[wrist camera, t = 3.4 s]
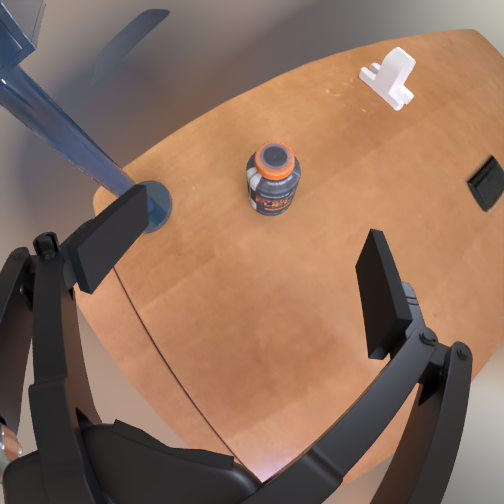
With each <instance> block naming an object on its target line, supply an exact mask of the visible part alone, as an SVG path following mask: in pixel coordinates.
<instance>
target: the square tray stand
mask: <svg viewBox="0 0 504 504" xmlns="http://www.w3.org/2000/svg"><path fill="white" fill-rule="evenodd" d="M45 6H46V4H45V3H44V1H43V0H0V105H1V106H2V107H3V108H4V109H5V110H6V111H8V112H9V113H10V114H11V115H12V116H14V117H15V118H16V119H17V120H18V121H20V122H21V123H22V124H23V125H25V126H26V127H27V128H28V129H29V130H31V131H32V132H33V133H34V134H36V135H37V136H38V137H39V138H41V139H42V140H43V141H44V142H46V143H47V144H48V145H49V146H51V147H52V148H53V149H55V150H56V151H57V152H58V153H60V154H61V155H62V156H63V157H65V158H66V159H67V160H69V161H70V162H71V163H73V164H74V165H75V166H76V167H78V168H79V169H80V170H81V171H83V172H84V173H86V174H87V175H88V176H89V177H91V178H92V179H93V180H95V181H96V182H97V183H99V184H100V185H101V186H103V187H104V188H105V189H107V190H108V191H109V192H111V193H112V194H113V195H115V196H116V197H117V198H119V197H120V196H121V195H123V194H124V193H125V192H126V191H128V190H129V189H130V188H131V187H133V186H134V185H135V184H137V183H135V182H134V181H133V180H132V179H131V178H130V177H129V176H128V175H127V174H126V173H125V172H124V171H123V170H122V169H121V168H120V167H119V166H118V165H117V164H116V163H115V162H114V161H113V160H112V159H111V158H110V157H109V156H108V155H107V154H105V152H104V151H103V150H101V148H100V147H98V145H97V144H95V142H94V141H92V140H91V139H90V137H89V136H88V135H87V134H86V133H84V132H83V130H82V129H81V128H80V127H79V126H77V124H76V123H75V122H74V121H73V120H72V119H71V118H70V117H69V116H68V115H67V114H66V113H65V112H64V111H63V110H62V109H61V108H60V107H59V106H58V105H57V104H56V103H55V102H54V101H53V100H52V99H51V98H50V97H49V95H48V94H47V93H46V92H45V91H44V90H43V89H42V88H41V87H40V86H39V85H38V84H37V83H36V82H35V81H34V80H33V79H32V77H31V76H30V75H29V74H28V73H27V72H26V71H25V70H24V69H23V68H22V67H21V66H20V64H19V63H20V62H21V61H22V60H23V59H25V58H26V57H27V56H28V55H29V54H31V53H32V52H33V51H34V50H36V48H37V43H38V37H39V32H40V27H41V22H42V18H43V14H44V10H45ZM139 185H146V187H147V204H148V218H149V226H148V227H147V228H146V229H145V230H144V231H143V232H142V233H150V232H153V231H156V230H157V229H159V228H160V227H161V226H163V225H164V224H165V222H166V221H167V220H168V218H169V216H170V213H171V210H172V199H171V195H170V193H169V192H168V190H167V189H166V188H165V187H164V186H163V185H162V184H161V183H159V182H156V181H144V182H141V183H139Z"/></svg>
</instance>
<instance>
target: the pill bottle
mask: <svg viewBox="0 0 504 504" xmlns="http://www.w3.org/2000/svg"><path fill="white" fill-rule="evenodd" d="M246 170H247V183H248V194H249V200H250V203H251V205H252V206H253V208H254V209H255V210H256V211H257V212H259V213H261V214H263V215H267V216H275V215H279V214H281V213H283V212H284V211H286V210H287V209H288V208H289V206H290V204H291V202H292V199H293V196H294V194H295V191H296V188H297V185H298V182H299V179H300V173H301V170H300V165H299V162H298V160H297V158H296V157H295V156H294V154H293V152H292V150H291V149H290V148H289V147H288V146H287V145H286V144H284V143H281V142H277V141H271V142H267V143H264V144H263V145H261V146H260V147H259V148H258V150H257V151H256V152H255V153H254V154H253V155H252V156H251V157H250V159H249V161H248V164H247V168H246Z"/></svg>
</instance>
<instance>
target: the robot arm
mask: <svg viewBox="0 0 504 504" xmlns="http://www.w3.org/2000/svg"><path fill="white" fill-rule="evenodd" d="M148 226H149V218H148V204H147V187H146V185H139V184H135V185H134V186H133V187H131V188H130V189H129V190H128V191H126V192H125V193H124V194H123V195H121V196H120V197H119V198H118V199H116V200H115V201H114V202H113V203H112V204H110V205H109V206H108V207H107V208H106V209H104V210H103V211H102V212H101V213H100V214H99V215H98V216H96V217H95V218H94V219H91V220H89V221H87V222H85V223H83V224H82V225H81V226H80V227H79V228H78V230H76V231H75V232H74V233H73V234H71V235H70V236H69V237H68V238H67V239H66V240H65V241H64V242H63V243H62V244H61V245H60V246H59V243H58V239H57V236H56V234H55V233H54V232H46V233H43V234H41V235H39V236H38V237H36V239H35V240H34V241H33V246H34V248H35V251H36V254H37V255H30V254H29V251H28V248H26V247H20V248H17V249H15V250H14V251H13V252H11V254H10V255H9V257H8V259H7V261H6V262H5V264H4V266H3V268H2V270H1V272H0V483H1V484H2V486H3V493H4V500H5V504H321V503H322V502H324V501H325V499H327V498H328V497H329V496H330V495H331V494H332V493H333V492H334V491H335V490H336V489H337V488H338V487H339V486H340V485H341V483H342V482H343V477H344V476H345V475H346V474H347V472H348V471H349V470H350V469H351V468H352V467H353V466H354V465H355V464H356V463H357V462H358V461H359V459H360V458H361V457H362V456H363V455H364V454H365V453H366V451H367V450H368V449H369V448H370V447H371V446H372V444H373V443H374V442H375V441H376V439H377V438H378V437H379V436H380V434H381V433H382V432H383V431H384V429H385V428H386V427H387V425H388V424H389V423H390V421H391V420H392V419H393V417H394V416H395V415H396V413H397V412H398V410H399V409H400V407H401V406H402V405H403V403H404V402H405V400H406V399H407V397H408V396H409V394H410V393H411V391H412V389H413V388H414V386H415V385H416V383H419V388H418V391H417V394H416V398H415V401H414V404H413V407H412V410H411V413H410V416H409V419H408V422H407V424H406V427H405V430H404V432H403V435H402V437H401V440H400V442H399V445H398V447H397V450H396V452H395V454H394V457H393V459H392V461H391V463H390V465H389V468H388V470H387V472H386V474H385V476H384V478H383V480H382V482H381V484H380V486H379V488H378V490H377V491H376V494H375V495H374V497H373V499H372V501H371V502H370V504H440V503H441V501H442V498H443V496H444V493H445V490H446V488H447V485H448V482H449V479H450V476H451V473H452V470H453V466H454V463H455V460H456V456H457V452H458V449H459V445H460V441H461V436H462V432H463V427H464V422H465V417H466V411H467V405H468V399H469V391H470V383H471V373H472V361H473V358H472V353H471V350H470V349H469V348H468V346H467V345H465V344H464V343H462V342H460V341H459V342H455V343H453V344H452V346H451V347H448V346H446V345H443V344H441V343H439V342H438V338H437V336H436V334H435V333H434V332H433V331H432V330H431V329H430V328H428V327H426V326H425V323H424V319H423V316H422V313H421V310H420V307H419V304H418V301H417V300H416V299H417V298H416V295H415V292H414V290H413V289H412V287H411V286H410V285H409V283H406V282H401V279H400V276H399V273H398V271H397V268H396V265H395V262H394V260H393V257H392V254H391V251H390V249H389V246H388V244H387V241H386V239H385V236H384V234H383V231H379V230H375V229H370V231H369V234H368V236H367V239H366V242H365V244H364V247H363V249H362V252H361V254H360V256H359V259H358V261H357V264H356V266H355V268H356V273H357V279H358V285H359V291H360V297H361V303H362V310H363V317H364V324H365V332H366V340H367V349H368V358H370V359H379V360H383V359H384V358H385V357H386V356H387V355H388V353H390V359H391V360H390V361H389V362H388V363H387V364H386V366H385V367H384V368H383V369H382V370H381V371H380V373H379V374H378V376H377V377H376V378H375V379H374V380H373V382H372V383H371V384H370V385H369V386H368V387H367V388H366V390H365V391H364V392H363V393H362V394H361V395H360V396H359V397H358V399H357V400H356V401H355V402H354V403H353V404H352V405H351V406H350V407H349V408H348V409H347V410H346V411H345V412H344V413H343V414H342V415H341V416H340V417H339V418H338V419H337V420H336V421H335V422H334V423H333V424H332V425H331V426H330V427H329V428H328V429H327V430H326V431H325V432H324V433H323V434H322V435H321V436H320V437H319V438H318V439H317V440H315V441H314V442H313V443H312V444H311V445H310V446H309V447H308V448H306V449H305V450H304V451H303V452H302V453H301V454H299V455H298V456H297V457H296V458H295V459H293V460H292V461H291V462H290V463H289V464H287V465H286V466H285V467H283V468H282V469H281V470H279V471H278V472H277V473H275V474H274V475H273V476H271V477H270V478H268V479H267V480H266V481H264V482H263V483H262V482H261V481H260V480H259V479H258V477H257V476H255V475H254V474H253V473H252V472H251V471H250V470H248V469H247V468H245V467H244V466H242V465H240V464H238V463H236V462H234V456H229V455H224V454H220V453H215V452H211V451H207V450H203V449H183V448H182V449H181V448H171V447H168V446H166V445H165V444H163V443H161V442H160V441H158V440H156V439H155V438H154V437H152V436H150V435H149V434H148V433H146V432H144V431H143V430H141V429H139V428H136V427H134V426H131V425H128V424H126V423H124V422H122V421H119V420H117V419H116V420H115V422H114V424H103V423H102V421H101V419H100V417H99V415H98V413H97V411H96V409H95V406H94V403H93V398H92V395H91V390H90V386H89V382H88V377H87V373H86V368H85V363H84V358H83V352H82V346H81V340H80V333H79V326H78V318H77V309H76V298H75V290H74V287H73V286H74V285H75V283H76V282H77V283H78V285H79V288H80V290H81V291H83V292H86V293H89V294H92V293H93V292H94V291H95V289H96V288H97V287H98V286H99V284H100V283H101V282H102V280H103V279H104V278H105V277H106V275H107V274H108V273H109V272H110V270H111V269H112V268H113V267H114V265H115V264H116V263H117V262H118V260H119V259H120V258H121V257H122V256H123V254H124V253H125V252H126V251H127V250H128V248H129V247H130V246H131V245H132V244H133V243H134V241H135V240H136V239H137V238H138V237H139V236H140V235H141V233H142V232H143V231H144V230H145V229H146V228H147V227H148ZM20 288H21V293H20ZM31 339H32V344H33V367H34V384H32V385H30V386H29V389H28V392H29V393H28V394H29V403H30V410H31V417H32V423H33V429H34V434H35V439H36V444H37V448H38V450H36V451H34V452H32V453H29V454H27V455H25V456H22V457H20V458H19V457H18V455H20V454H21V453H22V446H21V444H20V443H19V442H18V440H17V437H16V436H17V432H18V427H19V422H20V413H21V402H22V392H23V384H24V377H25V371H26V364H27V359H28V354H29V348H30V344H31Z"/></svg>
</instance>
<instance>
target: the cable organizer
mask: <svg viewBox="0 0 504 504" xmlns="http://www.w3.org/2000/svg"><path fill="white" fill-rule="evenodd" d="M415 62H416V61H415V60H414V59H413V58H412V57H410V56H409V55H408V54H407V53H406V52H404V51H403V50H402V49H401V48H399V47H397V48H395V49H393V50H392V51H391V52H389V53H388V55H387V56H386V57H385V59H384V61H383V63H382V65H381V66H380V65H379V64H378V63H373V64H371V65H370V68H369V70H368V69H367V68H366V67H363V68H361V70H360V73H359V78H360V79H362V80H363V81H364V82H365V83H366V84H367V85H369V86H370V87H371V88H372V89H373V90H374V91H375V92H376V93H378V94H379V95H380V96H381V97H382V98H383V99H384V100H385V101H386V102H387V103H388V104H389V105H390V106H391V107H392V108H393V109H395V110H399V109H401V108H402V106H403V105H404V103H405V104H406V105H407V104H409V103H410V101H411V100H412V98H413V97H414V95H413V94H412V93H411V92H410V91H409V90H408V89H407V88H406V87H405V86H404V85H403V84H404V82H405V81H406V79H407V77H408V76H409V74H410V72H411V71H412V69H413V67H414V65H415Z"/></svg>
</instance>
